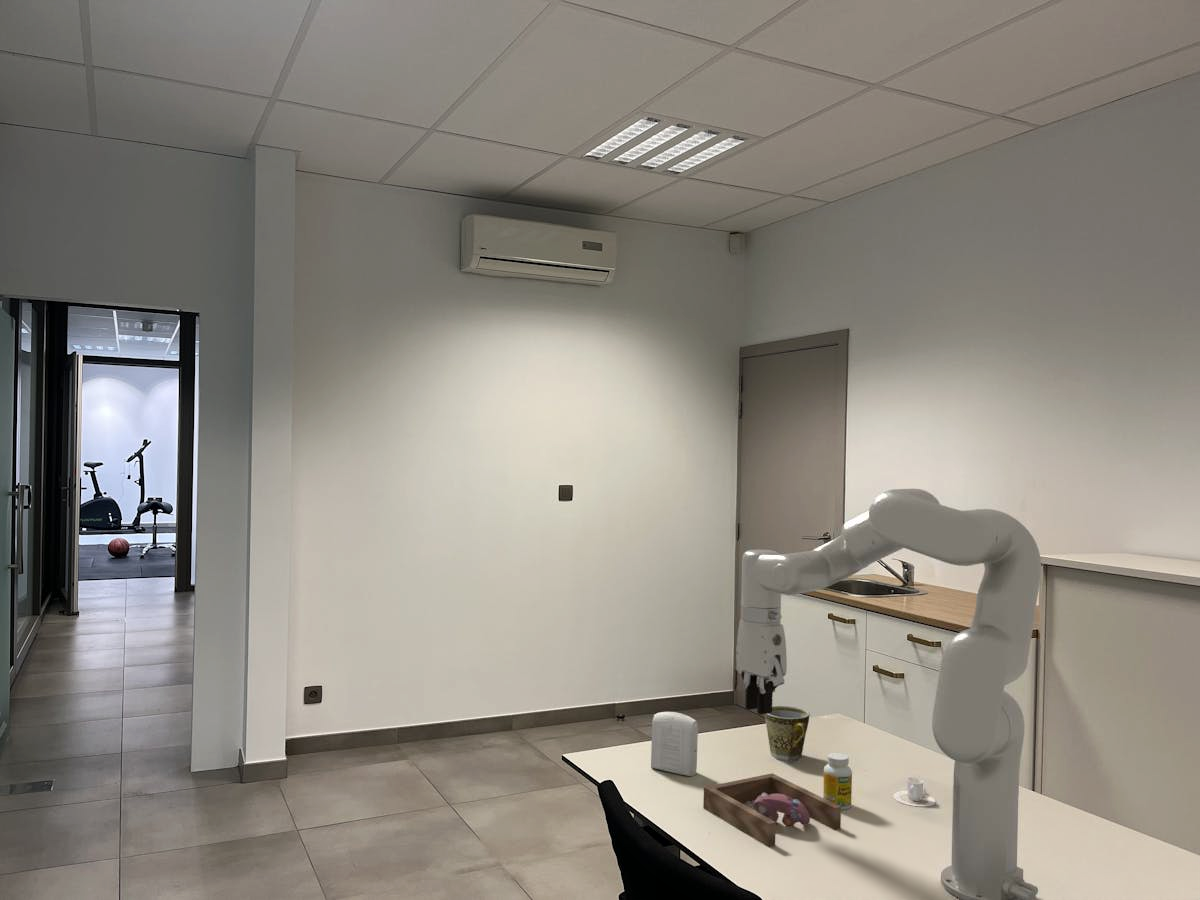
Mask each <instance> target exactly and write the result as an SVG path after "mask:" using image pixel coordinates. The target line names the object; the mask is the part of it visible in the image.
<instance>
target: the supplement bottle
mask: <svg viewBox="0 0 1200 900" xmlns="http://www.w3.org/2000/svg"><path fill="white" fill-rule="evenodd" d="M849 759H850V758H849V756H848V755H846V754H845V753H839V752H830V753H828V754H827V760H826V762H827V764H826V765H825V766H824V768H823V797H822V798H824V799H826V800H828V801H831V802H833V803H835V804H837V805H839V806H841V811H843V810H849V809H850V808H851V806H852V794H853V793H852V790H853V787H852V786H853V785H852V784H853V779H852V778H853V771H852V768H851V767H849V766H848V765H849V763H850V762H849V761H850V760H849Z"/></svg>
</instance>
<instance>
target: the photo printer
mask: <svg viewBox="0 0 1200 900" xmlns="http://www.w3.org/2000/svg"><path fill="white" fill-rule="evenodd" d="M651 725H652V726H651V750H650V751H651V752H650V755H651V756H650V767H651V768H653V769H655V770H660V771H664V772H668V773H673V774H676V775H683V776H688V777H694V776H696V775H697V767H698V766H697V765H698V739H699V738H698V736H699V735H698V734H699V732H698V731H699V724H698V721H697V720H696V719H694V718H692V717H691V716H689V715H687V714H683V713H680V712H676V711H661V712H657V713H656V714H655V713H654V715H653V718H652V724H651Z"/></svg>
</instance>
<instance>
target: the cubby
mask: <svg viewBox="0 0 1200 900" xmlns="http://www.w3.org/2000/svg"><path fill="white" fill-rule="evenodd" d="M762 793H767V794H768V795H769V794H776V793H777V794H783V795H786V796H787V797H790V798H792V799H793V800H794V799H798V800H799V801H800V802H801V803H802V804H803V805H804V806H805V808H806V810H807V811H808V813H809V815H810V819H813V820H814V821H817V822H818V823H821V824H822V825H824V826H825V827H827V828H830V829H832V830H834V831H836V830H840V829H841V827H842V825H841V824H842V821H841V820H842V810H841V806H839V805H837V804H835V803H833V802H831V801H828V800H826V799H824V798H823V797H822V796H820V795H818V794H815V793H814V792H813V791H809V790H807V789H805V788H803V787H801V786H799V785H798V784H796V783H793V782H791V781H789V780H787V779H785V778H783V777H781V776H779V775H777V774H775V773H767V774H762V775H757V776H752V777H748V778H742V779H739V780H732V781H727V782H724V783H718V784H713V785H709V786H704V787H703V802H702V803H703V806H702V807H703V808H702V809H704V810H705V811H708V813H711V814H712V815H714V816H716V817H718V818H719V819H721V820H723V821H724V822H726V823H728V824H729V825H732V826H733V827H735V828H736V829H738V830H740V831H741V832H743V833H744V834H746V835H748V836H749V837H751V838H753V839H754V840H756V841H757V842H760V843H761V844H763V845H764V846H767V847H768V848H770V847H773V846H776V829H777V828H776V825H777V824H776V823H777V822H775V821H773V820H771V819H769V818H767V817H765V816H764V815H762V814H760V813H758V812H756V810H755V809H753V808H751V807H749V806H747V805H745V804H746V803H750V802H755V800H756V799H757V797H759V796H760V795H762Z"/></svg>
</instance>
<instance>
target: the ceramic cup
mask: <svg viewBox="0 0 1200 900" xmlns="http://www.w3.org/2000/svg"><path fill="white" fill-rule="evenodd" d="M810 716H811V715H810V712H809V711H807V710H806V709H804V708H803V709H802V708H801V707H800V708H799V707H795V706H787V705H776V706H775V705H774V706H773V705H772V712H771V713H768V714H764V718H765V719H764V720H765V727H766V731H767V737H768V744H769V745H768V746H769V751H770V755H771V757H773V758H774V759H776V760H779V761H785V762H795V761H799V760H800V758H801V757H802V756H803V750H804V745H805V739H806V735H807V730H808V726H809V721H810Z"/></svg>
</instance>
